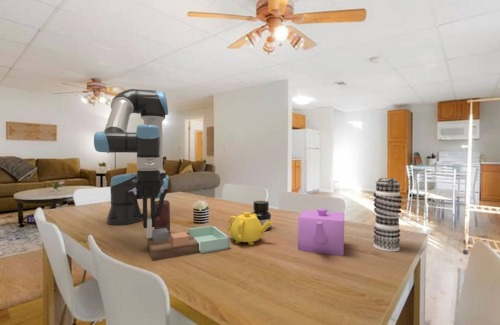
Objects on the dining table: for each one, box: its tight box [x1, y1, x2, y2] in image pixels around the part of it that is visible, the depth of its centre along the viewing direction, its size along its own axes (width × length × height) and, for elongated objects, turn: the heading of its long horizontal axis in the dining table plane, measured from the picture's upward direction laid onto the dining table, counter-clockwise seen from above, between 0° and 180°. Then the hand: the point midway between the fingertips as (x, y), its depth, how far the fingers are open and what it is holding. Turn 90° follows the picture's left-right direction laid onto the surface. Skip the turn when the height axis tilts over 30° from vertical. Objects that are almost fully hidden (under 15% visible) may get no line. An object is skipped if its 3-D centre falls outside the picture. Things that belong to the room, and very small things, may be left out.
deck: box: [147, 232, 200, 261], centre depth 92 cm, size 14×15×3 cm
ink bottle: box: [250, 200, 272, 231], centre depth 118 cm, size 10×9×12 cm
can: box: [153, 199, 171, 235], centre depth 108 cm, size 6×6×14 cm
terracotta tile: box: [169, 231, 189, 247], centre depth 89 cm, size 5×5×3 cm
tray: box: [187, 225, 231, 255], centre depth 98 cm, size 17×10×4 cm, turn 28°
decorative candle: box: [373, 177, 403, 252], centre depth 95 cm, size 9×9×25 cm
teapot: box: [226, 211, 273, 246], centre depth 101 cm, size 14×14×11 cm
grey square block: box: [152, 228, 170, 242], centre depth 94 cm, size 5×5×3 cm
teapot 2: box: [297, 207, 345, 257], centre depth 94 cm, size 15×25×14 cm, turn 160°
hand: (149, 236), depth 92 cm, fingers closed
